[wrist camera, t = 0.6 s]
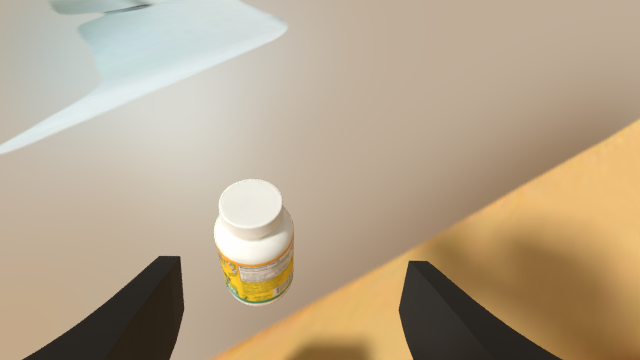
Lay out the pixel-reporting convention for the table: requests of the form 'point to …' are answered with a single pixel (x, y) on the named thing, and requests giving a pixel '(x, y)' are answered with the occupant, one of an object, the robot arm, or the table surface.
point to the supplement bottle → (255, 242)
